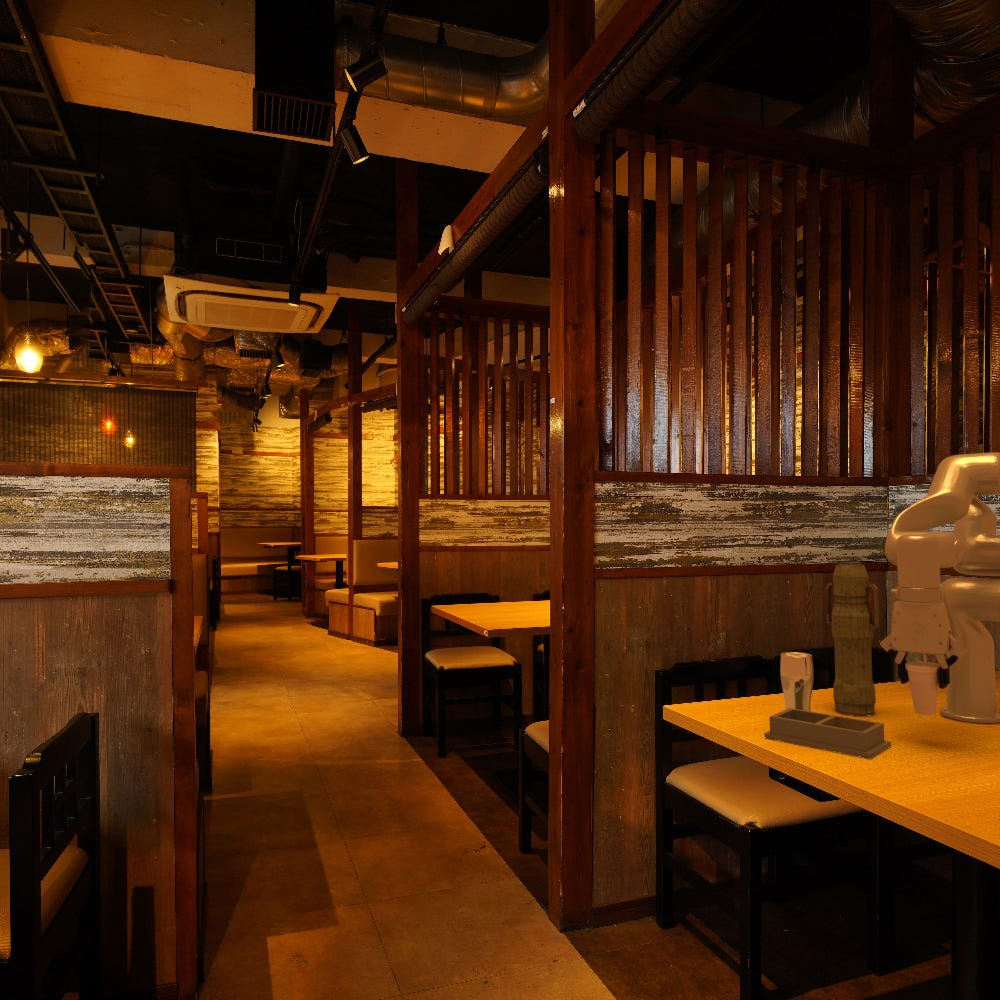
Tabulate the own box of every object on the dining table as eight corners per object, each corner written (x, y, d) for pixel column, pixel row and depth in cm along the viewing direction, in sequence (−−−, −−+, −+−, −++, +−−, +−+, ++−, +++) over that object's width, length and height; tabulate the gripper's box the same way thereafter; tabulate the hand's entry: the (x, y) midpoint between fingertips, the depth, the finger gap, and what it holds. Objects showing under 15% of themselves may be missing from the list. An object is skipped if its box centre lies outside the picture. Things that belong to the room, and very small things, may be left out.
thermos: (831, 705, 183) (827, 561, 185) (885, 711, 176) (880, 562, 178) (823, 712, 176) (818, 563, 177) (878, 719, 169) (873, 564, 170)
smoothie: (930, 718, 146) (927, 646, 146) (900, 711, 152) (896, 642, 152) (950, 713, 149) (947, 643, 149) (919, 706, 155) (916, 638, 155)
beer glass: (817, 726, 164) (815, 657, 165) (784, 724, 166) (782, 656, 166) (811, 718, 171) (809, 652, 172) (779, 717, 173) (777, 651, 173)
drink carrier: (787, 727, 164) (787, 706, 164) (890, 746, 149) (890, 723, 149) (764, 738, 156) (763, 716, 156) (870, 759, 141) (869, 735, 141)
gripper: (867, 595, 154) (871, 682, 154) (963, 600, 142) (968, 695, 142) (880, 591, 159) (884, 676, 159) (974, 596, 147) (978, 687, 147)
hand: (923, 684), depth 150 cm, fingers closed on smoothie, 6 cm apart
